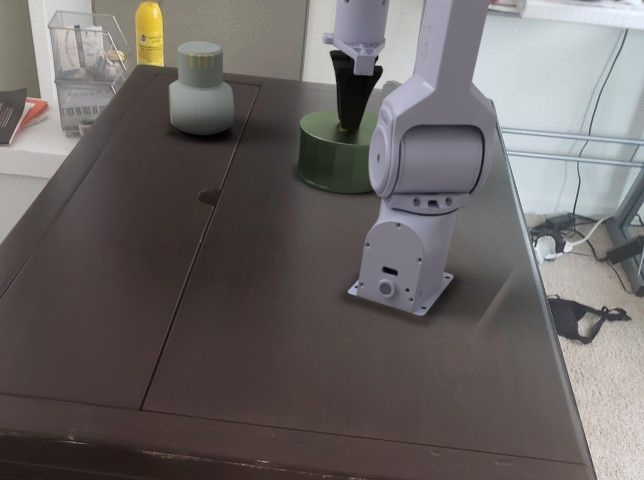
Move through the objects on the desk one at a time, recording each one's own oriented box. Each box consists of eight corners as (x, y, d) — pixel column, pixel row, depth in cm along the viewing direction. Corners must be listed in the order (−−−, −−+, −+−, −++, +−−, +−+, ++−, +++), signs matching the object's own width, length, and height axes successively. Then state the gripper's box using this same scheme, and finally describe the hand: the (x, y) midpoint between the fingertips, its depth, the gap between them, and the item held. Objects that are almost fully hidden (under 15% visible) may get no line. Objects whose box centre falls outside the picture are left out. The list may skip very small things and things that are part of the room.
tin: (364, 201, 89) (371, 154, 85) (282, 179, 93) (285, 133, 89) (399, 171, 96) (406, 127, 92) (321, 151, 100) (325, 108, 96)
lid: (381, 162, 85) (389, 114, 82) (284, 141, 88) (287, 94, 85) (410, 129, 94) (417, 85, 90) (319, 111, 96) (323, 68, 93)
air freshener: (235, 143, 100) (236, 60, 93) (173, 143, 99) (170, 59, 92) (226, 115, 108) (227, 36, 101) (169, 115, 107) (166, 34, 99)
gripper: (322, -27, 85) (311, 102, 95) (333, 4, 75) (319, 144, 85) (383, -23, 86) (366, 105, 95) (402, 7, 75) (380, 147, 85)
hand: (348, 123), depth 90 cm, fingers closed on lid, 2 cm apart
